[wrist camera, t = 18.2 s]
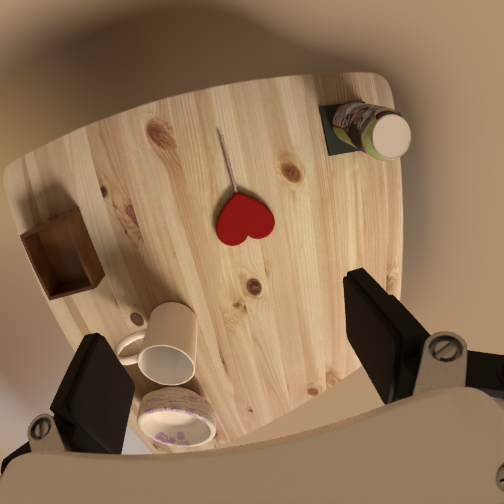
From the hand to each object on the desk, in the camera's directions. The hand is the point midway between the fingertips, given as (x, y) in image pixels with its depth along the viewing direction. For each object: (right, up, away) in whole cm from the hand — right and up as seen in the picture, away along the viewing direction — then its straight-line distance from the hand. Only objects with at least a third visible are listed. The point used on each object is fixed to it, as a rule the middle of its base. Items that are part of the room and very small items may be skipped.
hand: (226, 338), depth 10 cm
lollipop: (-1, +11, +28) cm, 30 cm away
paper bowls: (-14, -27, +43) cm, 53 cm away
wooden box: (-28, +3, +28) cm, 40 cm away
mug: (-14, -8, +35) cm, 38 cm away
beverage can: (+14, +20, +26) cm, 36 cm away
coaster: (+14, +20, +26) cm, 36 cm away
